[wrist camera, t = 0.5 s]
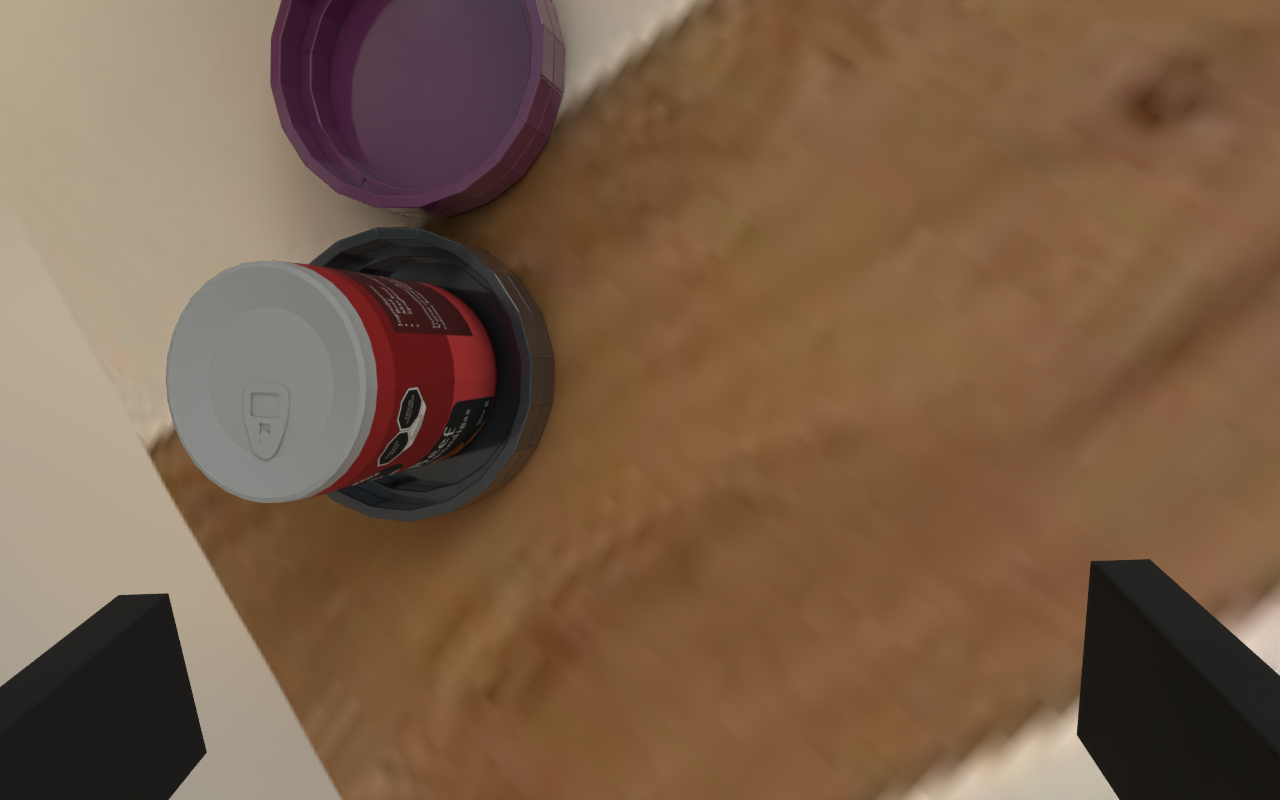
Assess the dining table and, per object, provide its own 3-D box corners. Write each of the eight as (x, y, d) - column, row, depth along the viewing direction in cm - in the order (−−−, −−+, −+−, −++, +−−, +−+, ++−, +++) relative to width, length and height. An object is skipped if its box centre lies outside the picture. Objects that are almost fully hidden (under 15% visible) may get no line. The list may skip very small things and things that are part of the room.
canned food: (371, 478, 40) (193, 525, 29) (330, 308, 40) (137, 293, 29) (523, 442, 38) (393, 479, 27) (480, 263, 38) (333, 230, 27)
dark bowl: (310, 234, 40) (268, 226, 37) (561, 238, 37) (536, 228, 34) (307, 496, 41) (265, 507, 38) (551, 519, 38) (526, 533, 35)
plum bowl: (315, -56, 39) (271, -89, 36) (572, -76, 36) (547, -113, 33) (311, 217, 40) (268, 207, 37) (562, 219, 37) (537, 208, 34)
